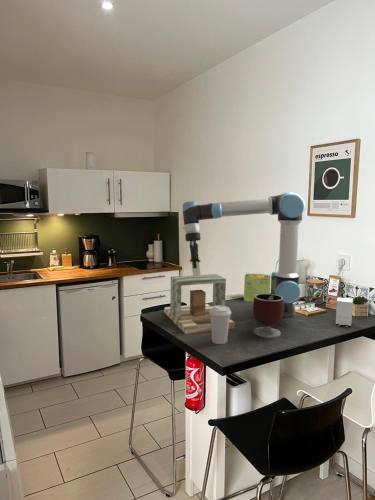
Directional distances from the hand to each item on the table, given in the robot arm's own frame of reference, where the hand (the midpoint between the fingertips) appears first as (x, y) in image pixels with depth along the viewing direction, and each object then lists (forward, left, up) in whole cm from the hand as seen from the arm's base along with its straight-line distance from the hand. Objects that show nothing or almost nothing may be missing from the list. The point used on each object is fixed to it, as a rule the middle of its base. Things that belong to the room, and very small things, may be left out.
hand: (196, 275), depth 192 cm
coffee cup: (-25, +14, -24) cm, 37 cm away
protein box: (-1, -58, -24) cm, 63 cm away
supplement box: (-57, -47, -24) cm, 78 cm away
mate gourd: (-35, -9, -24) cm, 44 cm away
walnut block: (+1, -2, -21) cm, 21 cm away
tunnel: (+1, -2, -24) cm, 24 cm away
